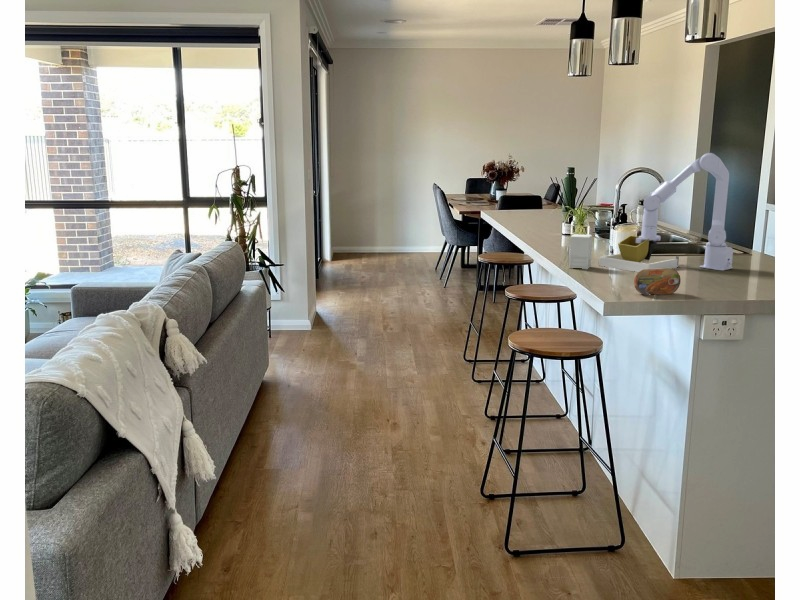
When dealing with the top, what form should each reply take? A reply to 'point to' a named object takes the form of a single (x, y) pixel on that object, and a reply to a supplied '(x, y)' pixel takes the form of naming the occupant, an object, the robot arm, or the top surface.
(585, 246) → the supplement box
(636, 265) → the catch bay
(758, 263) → the top surface
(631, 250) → the flower pot
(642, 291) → the tin
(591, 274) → the top surface
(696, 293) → the top surface
